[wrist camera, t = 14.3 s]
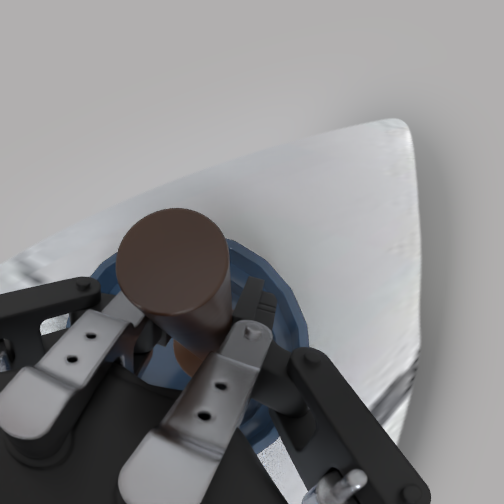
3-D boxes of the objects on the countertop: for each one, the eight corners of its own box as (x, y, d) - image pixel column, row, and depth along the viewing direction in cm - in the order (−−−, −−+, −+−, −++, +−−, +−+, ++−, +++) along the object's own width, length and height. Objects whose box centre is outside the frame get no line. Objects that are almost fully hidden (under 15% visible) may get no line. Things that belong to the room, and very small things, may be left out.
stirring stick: (173, 371, 17) (36, 323, 5) (195, 308, 19) (125, 152, 6) (241, 393, 17) (253, 414, 4) (260, 327, 19) (309, 192, 6)
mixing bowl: (78, 408, 18) (40, 408, 13) (138, 244, 25) (118, 209, 20) (262, 476, 17) (269, 502, 12) (311, 293, 24) (331, 266, 19)
